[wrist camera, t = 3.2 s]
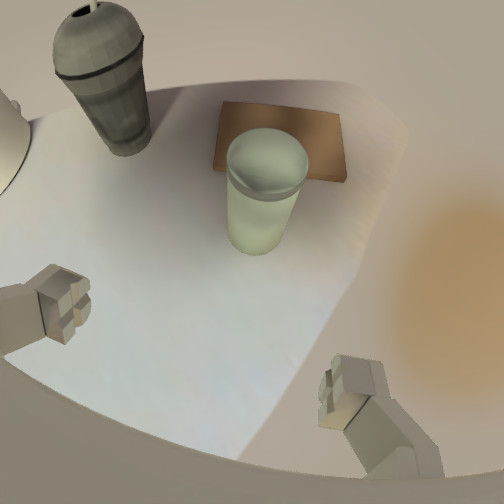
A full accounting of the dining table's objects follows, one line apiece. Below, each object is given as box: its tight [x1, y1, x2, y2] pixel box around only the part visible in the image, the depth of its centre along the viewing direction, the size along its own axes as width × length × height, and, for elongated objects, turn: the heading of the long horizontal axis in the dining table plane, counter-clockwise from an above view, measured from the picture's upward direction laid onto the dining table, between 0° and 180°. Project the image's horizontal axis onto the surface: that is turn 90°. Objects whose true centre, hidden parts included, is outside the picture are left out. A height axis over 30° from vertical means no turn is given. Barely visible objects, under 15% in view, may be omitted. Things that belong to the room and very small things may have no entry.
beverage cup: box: [53, 0, 151, 157], centre depth 20 cm, size 7×7×20 cm
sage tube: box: [226, 127, 309, 255], centre depth 22 cm, size 5×5×10 cm
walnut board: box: [213, 101, 347, 183], centre depth 29 cm, size 12×8×1 cm, turn 87°
